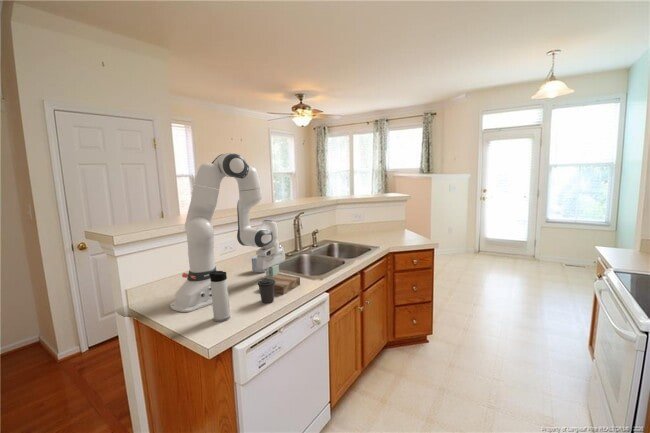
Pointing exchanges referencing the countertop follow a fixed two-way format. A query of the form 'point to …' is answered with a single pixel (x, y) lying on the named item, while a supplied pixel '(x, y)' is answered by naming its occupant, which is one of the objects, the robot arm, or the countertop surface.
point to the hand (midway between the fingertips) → (272, 273)
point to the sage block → (273, 271)
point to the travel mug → (220, 295)
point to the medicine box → (255, 265)
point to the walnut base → (285, 283)
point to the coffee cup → (266, 290)
